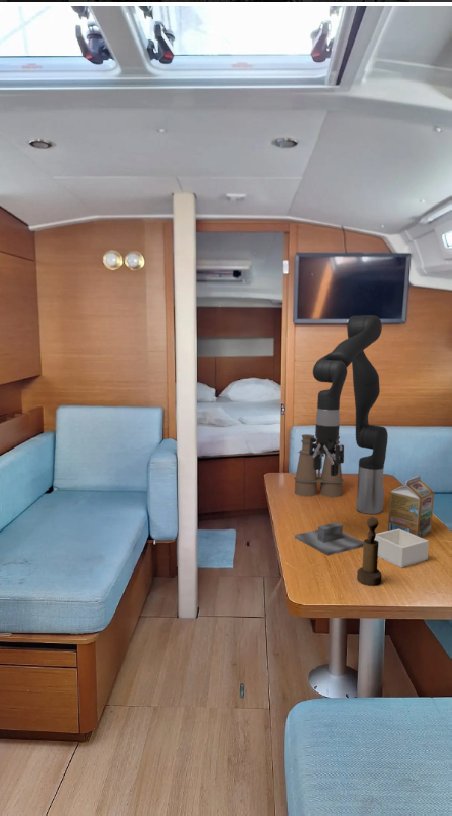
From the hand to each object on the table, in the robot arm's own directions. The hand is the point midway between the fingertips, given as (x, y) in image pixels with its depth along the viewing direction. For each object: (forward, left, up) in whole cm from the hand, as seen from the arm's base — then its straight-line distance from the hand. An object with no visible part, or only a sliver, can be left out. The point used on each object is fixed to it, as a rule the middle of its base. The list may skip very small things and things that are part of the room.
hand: (325, 472), depth 171 cm
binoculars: (-33, -41, -23) cm, 57 cm away
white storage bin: (-12, +21, -23) cm, 33 cm away
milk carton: (-32, +8, -23) cm, 41 cm away
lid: (-1, +2, -23) cm, 23 cm away
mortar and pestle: (+8, +28, -23) cm, 37 cm away
